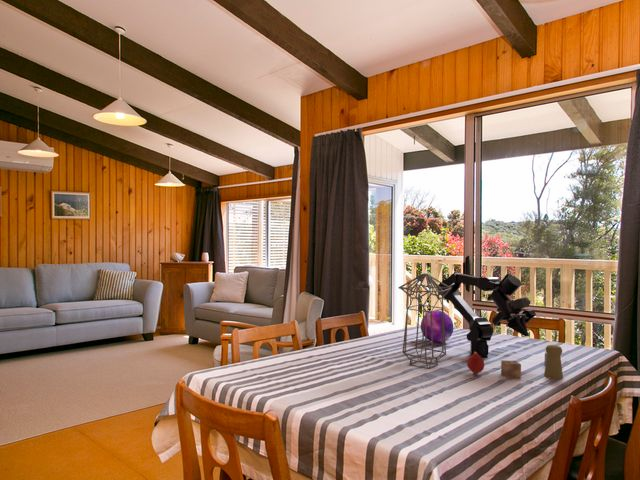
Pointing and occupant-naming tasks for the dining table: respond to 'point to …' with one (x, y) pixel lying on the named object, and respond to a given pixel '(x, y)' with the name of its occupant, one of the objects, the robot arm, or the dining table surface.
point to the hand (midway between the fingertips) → (527, 335)
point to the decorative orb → (438, 326)
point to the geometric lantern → (425, 317)
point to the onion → (475, 363)
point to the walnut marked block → (511, 369)
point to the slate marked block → (545, 357)
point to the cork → (553, 362)
